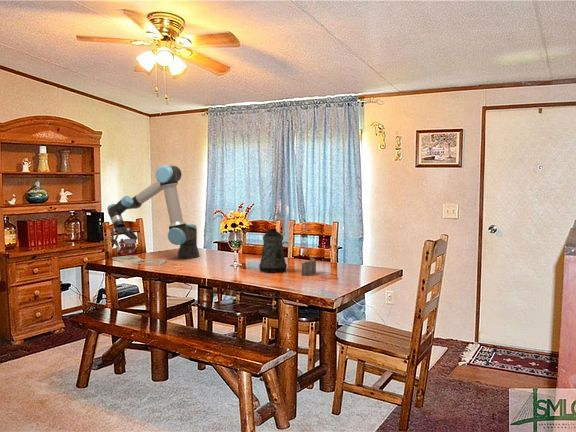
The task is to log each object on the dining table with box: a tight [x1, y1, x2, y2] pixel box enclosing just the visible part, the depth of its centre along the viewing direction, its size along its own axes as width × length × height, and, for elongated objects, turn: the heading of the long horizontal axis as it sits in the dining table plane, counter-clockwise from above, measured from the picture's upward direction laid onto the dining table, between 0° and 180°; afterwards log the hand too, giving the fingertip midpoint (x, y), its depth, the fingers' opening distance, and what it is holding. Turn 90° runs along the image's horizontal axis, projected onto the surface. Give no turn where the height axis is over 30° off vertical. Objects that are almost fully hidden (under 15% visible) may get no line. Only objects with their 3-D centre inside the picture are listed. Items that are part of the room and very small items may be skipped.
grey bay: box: [131, 259, 167, 266], centre depth 327 cm, size 18×13×2 cm
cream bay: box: [111, 255, 143, 264], centre depth 341 cm, size 18×13×2 cm
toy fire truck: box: [115, 238, 137, 256], centre depth 340 cm, size 7×12×10 cm, turn 103°
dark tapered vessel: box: [258, 228, 288, 274], centre depth 304 cm, size 16×19×25 cm
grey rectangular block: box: [301, 256, 317, 277], centre depth 293 cm, size 11×3×10 cm, turn 146°
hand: (127, 248), depth 338 cm, fingers closed on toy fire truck, 10 cm apart
